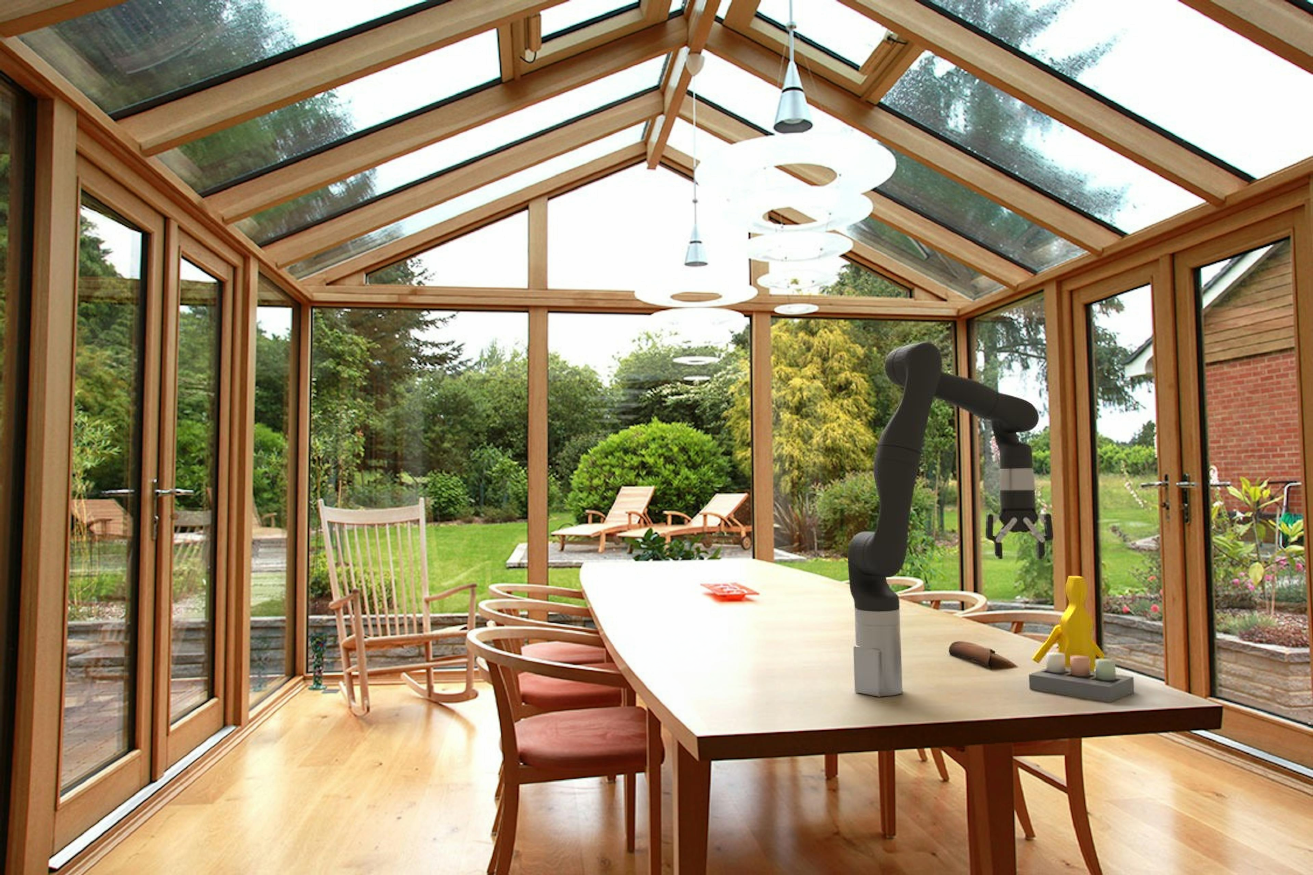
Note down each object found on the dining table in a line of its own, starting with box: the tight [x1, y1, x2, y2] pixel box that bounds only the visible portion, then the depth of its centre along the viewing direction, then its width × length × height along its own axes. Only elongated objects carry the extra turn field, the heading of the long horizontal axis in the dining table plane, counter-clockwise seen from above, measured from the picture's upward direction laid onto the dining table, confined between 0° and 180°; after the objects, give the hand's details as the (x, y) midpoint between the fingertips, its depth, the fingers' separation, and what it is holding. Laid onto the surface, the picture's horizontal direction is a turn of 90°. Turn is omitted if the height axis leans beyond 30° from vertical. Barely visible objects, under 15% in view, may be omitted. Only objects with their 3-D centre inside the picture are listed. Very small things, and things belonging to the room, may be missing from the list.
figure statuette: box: [1031, 575, 1106, 671], centre depth 193 cm, size 18×8×22 cm, turn 99°
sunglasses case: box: [948, 640, 1018, 670], centre depth 208 cm, size 18×7×7 cm
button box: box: [1028, 667, 1135, 703], centre depth 178 cm, size 12×16×3 cm
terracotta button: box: [1070, 655, 1090, 676], centre depth 178 cm, size 4×4×4 cm
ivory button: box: [1045, 651, 1066, 672], centre depth 182 cm, size 4×4×4 cm
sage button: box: [1094, 658, 1116, 680], centre depth 175 cm, size 4×4×4 cm
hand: (1019, 558), depth 199 cm, fingers open, 8 cm apart
